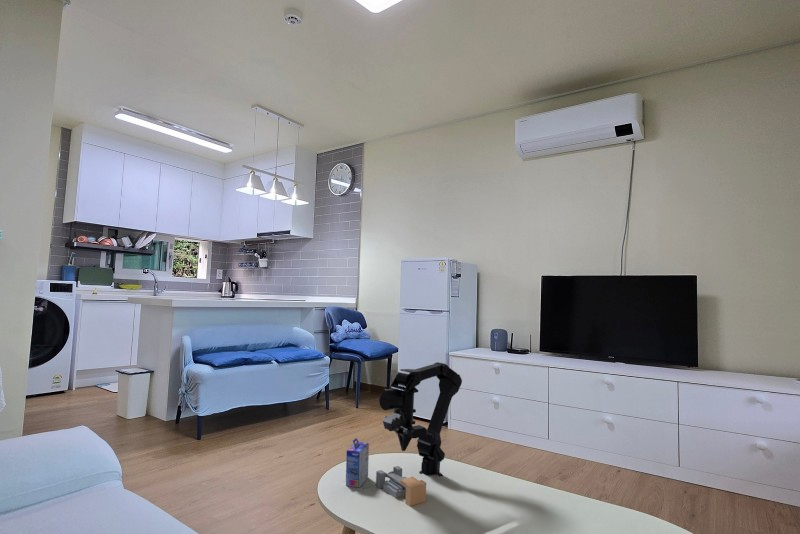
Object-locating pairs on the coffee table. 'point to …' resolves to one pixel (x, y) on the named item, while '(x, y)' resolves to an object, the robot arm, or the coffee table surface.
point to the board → (389, 483)
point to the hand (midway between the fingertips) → (403, 450)
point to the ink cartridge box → (357, 464)
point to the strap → (394, 477)
